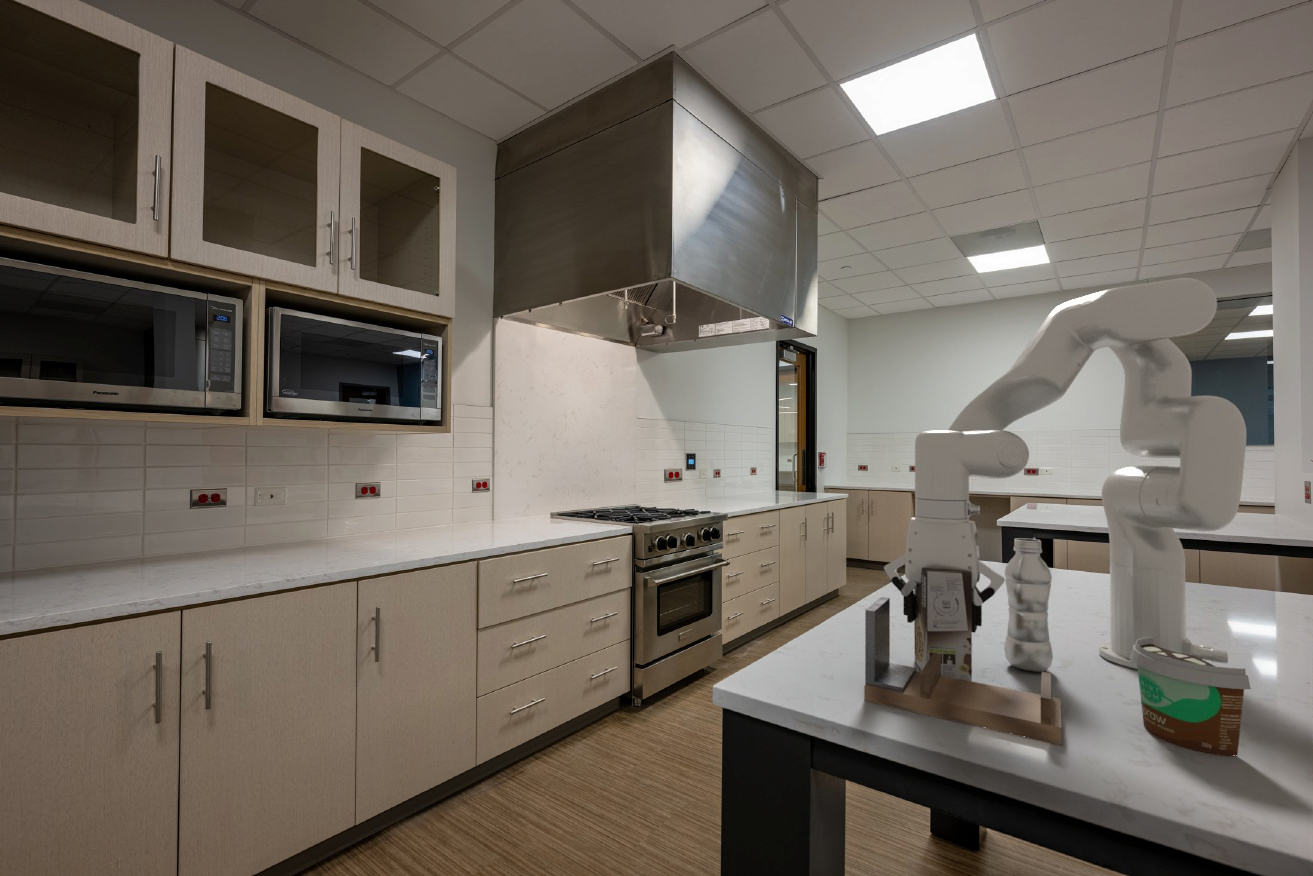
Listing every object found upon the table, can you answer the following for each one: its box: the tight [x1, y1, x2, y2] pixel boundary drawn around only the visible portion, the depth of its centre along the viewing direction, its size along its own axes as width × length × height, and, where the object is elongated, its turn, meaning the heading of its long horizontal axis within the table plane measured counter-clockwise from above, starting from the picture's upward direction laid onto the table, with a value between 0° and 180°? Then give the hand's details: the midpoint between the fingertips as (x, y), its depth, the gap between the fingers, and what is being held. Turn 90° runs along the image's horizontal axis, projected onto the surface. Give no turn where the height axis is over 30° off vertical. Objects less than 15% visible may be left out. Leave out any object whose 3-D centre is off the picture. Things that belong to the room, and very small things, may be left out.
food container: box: [1130, 637, 1252, 757], centre depth 72 cm, size 12×6×10 cm, turn 5°
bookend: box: [864, 596, 917, 692], centre depth 84 cm, size 5×9×10 cm, turn 147°
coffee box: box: [913, 568, 973, 682], centre depth 93 cm, size 9×6×16 cm
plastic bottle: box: [1003, 537, 1054, 672], centre depth 94 cm, size 6×7×20 cm
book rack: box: [863, 653, 1063, 746], centre depth 79 cm, size 22×10×5 cm, turn 57°
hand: (941, 624), depth 93 cm, fingers closed on coffee box, 8 cm apart
